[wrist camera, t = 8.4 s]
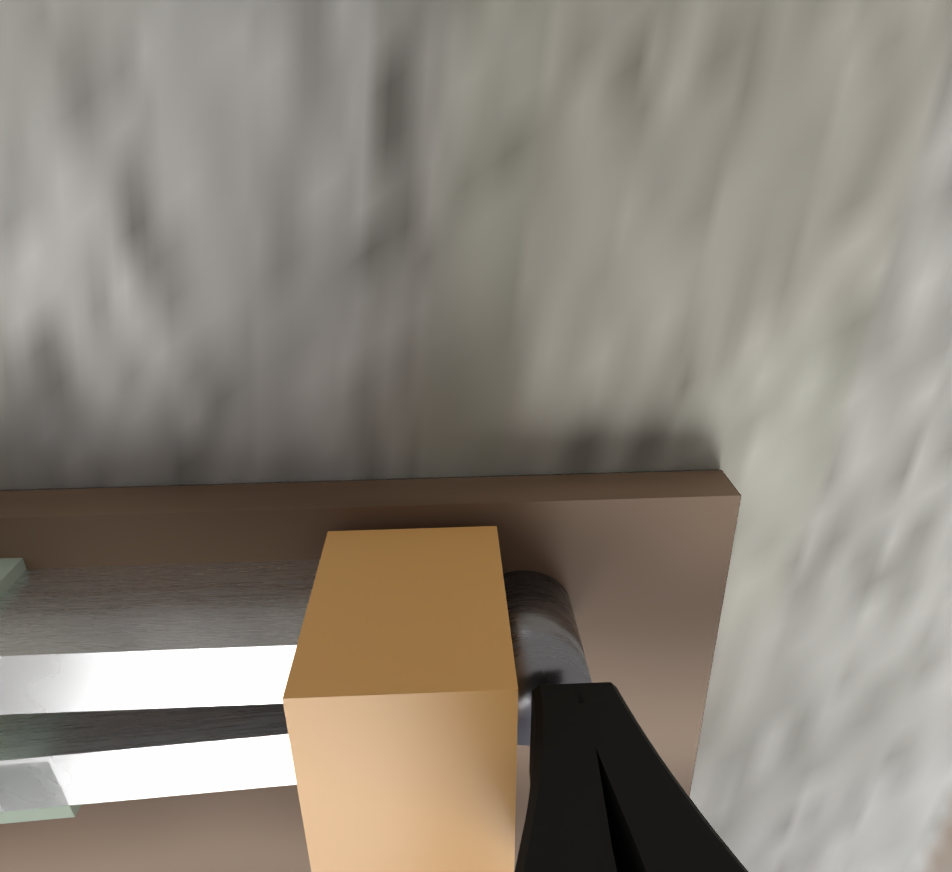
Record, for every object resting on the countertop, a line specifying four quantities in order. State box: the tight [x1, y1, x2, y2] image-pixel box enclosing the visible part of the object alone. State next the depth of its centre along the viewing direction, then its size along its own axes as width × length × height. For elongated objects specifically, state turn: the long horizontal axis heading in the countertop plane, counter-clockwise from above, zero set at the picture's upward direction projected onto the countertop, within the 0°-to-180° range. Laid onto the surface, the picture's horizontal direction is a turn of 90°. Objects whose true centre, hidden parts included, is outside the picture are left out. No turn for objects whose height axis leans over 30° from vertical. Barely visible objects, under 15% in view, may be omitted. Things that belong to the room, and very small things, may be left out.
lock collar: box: [282, 526, 518, 872], centre depth 12 cm, size 4×3×4 cm
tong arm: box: [0, 703, 297, 824], centre depth 13 cm, size 2×10×2 cm, turn 95°
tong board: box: [0, 470, 741, 872], centre depth 15 cm, size 15×16×3 cm
